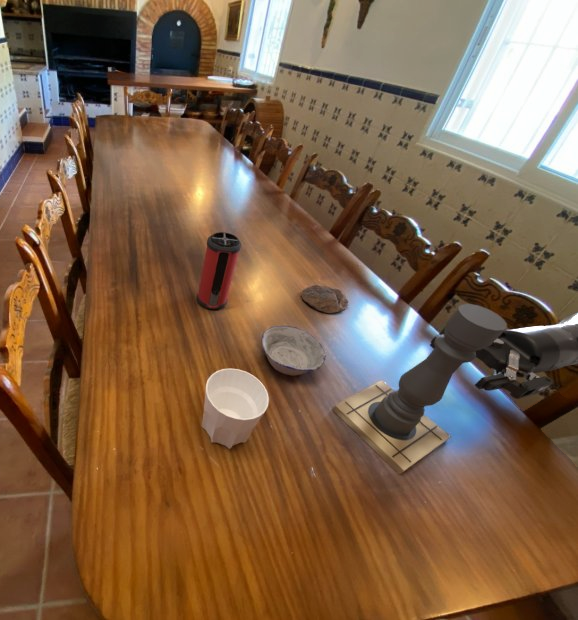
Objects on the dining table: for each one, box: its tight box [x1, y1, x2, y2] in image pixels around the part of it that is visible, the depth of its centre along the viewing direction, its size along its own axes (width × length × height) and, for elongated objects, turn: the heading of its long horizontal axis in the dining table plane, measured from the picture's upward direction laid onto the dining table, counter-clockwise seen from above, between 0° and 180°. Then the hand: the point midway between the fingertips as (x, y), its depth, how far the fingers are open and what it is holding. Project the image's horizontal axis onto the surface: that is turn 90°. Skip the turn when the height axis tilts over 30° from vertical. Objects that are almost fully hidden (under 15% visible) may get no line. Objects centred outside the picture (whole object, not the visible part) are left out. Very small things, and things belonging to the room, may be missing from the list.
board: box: [332, 379, 452, 475], centre depth 66 cm, size 14×14×2 cm
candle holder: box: [374, 303, 508, 435], centre depth 57 cm, size 6×6×25 cm
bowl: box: [261, 325, 327, 377], centre depth 75 cm, size 13×13×5 cm
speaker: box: [196, 231, 242, 310], centre depth 86 cm, size 8×8×18 cm
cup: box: [200, 367, 270, 450], centre depth 60 cm, size 10×10×10 cm
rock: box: [300, 284, 349, 314], centre depth 94 cm, size 11×12×3 cm
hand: (455, 362), depth 56 cm, fingers open, 8 cm apart
